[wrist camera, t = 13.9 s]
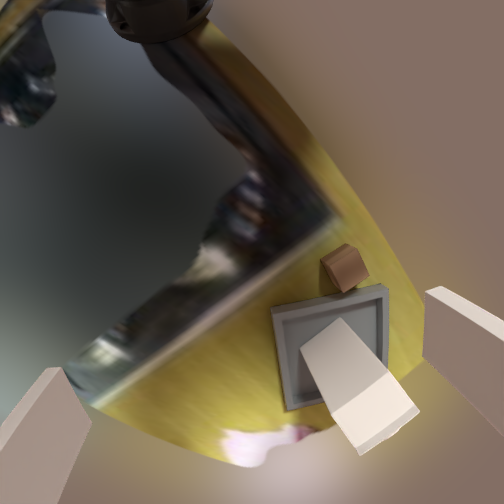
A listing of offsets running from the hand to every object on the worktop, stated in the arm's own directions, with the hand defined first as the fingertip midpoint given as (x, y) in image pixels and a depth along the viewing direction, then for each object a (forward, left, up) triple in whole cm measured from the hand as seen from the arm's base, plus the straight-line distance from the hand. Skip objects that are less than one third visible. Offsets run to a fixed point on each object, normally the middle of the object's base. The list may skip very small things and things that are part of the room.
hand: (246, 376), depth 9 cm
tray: (+18, +11, -30) cm, 36 cm away
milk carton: (+18, +11, -29) cm, 36 cm away
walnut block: (+6, +13, -30) cm, 33 cm away
